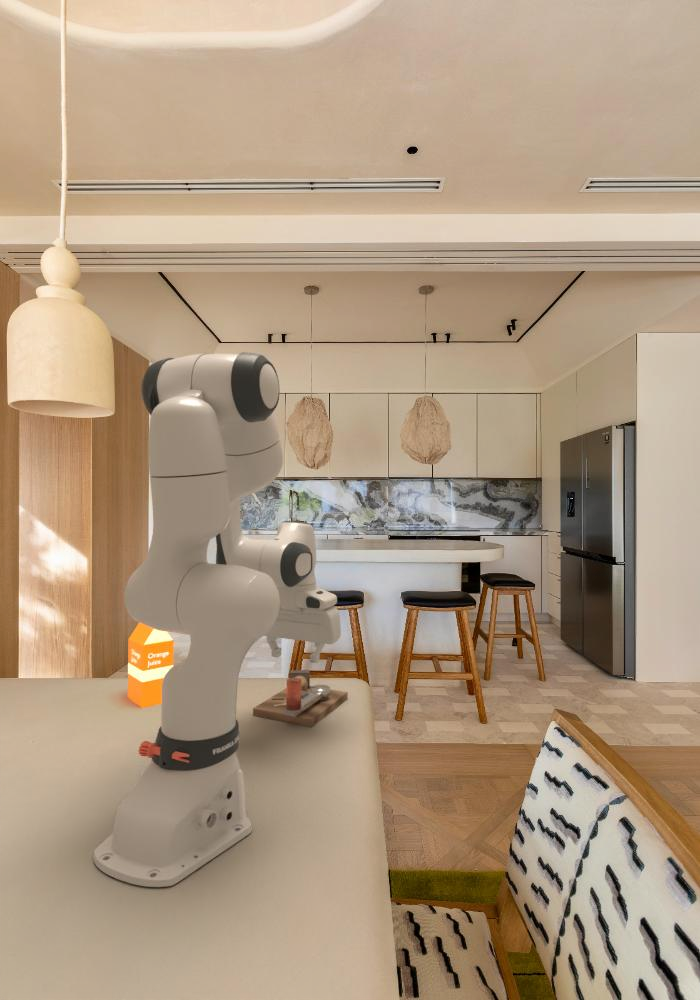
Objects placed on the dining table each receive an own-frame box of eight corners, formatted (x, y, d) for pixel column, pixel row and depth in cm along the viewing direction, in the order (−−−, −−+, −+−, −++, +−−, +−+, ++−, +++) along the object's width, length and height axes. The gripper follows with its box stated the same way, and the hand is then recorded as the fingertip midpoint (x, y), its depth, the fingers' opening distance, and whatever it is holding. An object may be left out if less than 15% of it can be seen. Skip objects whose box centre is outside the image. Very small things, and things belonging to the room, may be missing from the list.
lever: (299, 719, 118) (299, 683, 118) (277, 715, 121) (277, 680, 121) (332, 694, 134) (333, 663, 134) (312, 691, 136) (313, 660, 136)
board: (312, 727, 120) (312, 701, 120) (252, 715, 126) (253, 690, 126) (347, 698, 138) (347, 675, 138) (294, 689, 144) (294, 667, 144)
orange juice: (141, 708, 129) (142, 621, 129) (127, 697, 136) (128, 615, 136) (173, 700, 135) (174, 617, 135) (158, 690, 141) (159, 611, 141)
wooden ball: (302, 696, 135) (303, 679, 135) (288, 693, 137) (288, 677, 137) (310, 690, 139) (310, 674, 139) (296, 688, 140) (296, 672, 140)
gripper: (246, 594, 122) (246, 657, 122) (331, 602, 114) (331, 669, 114) (262, 589, 128) (262, 649, 128) (343, 596, 120) (343, 661, 120)
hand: (295, 659), depth 121 cm, fingers open, 8 cm apart
